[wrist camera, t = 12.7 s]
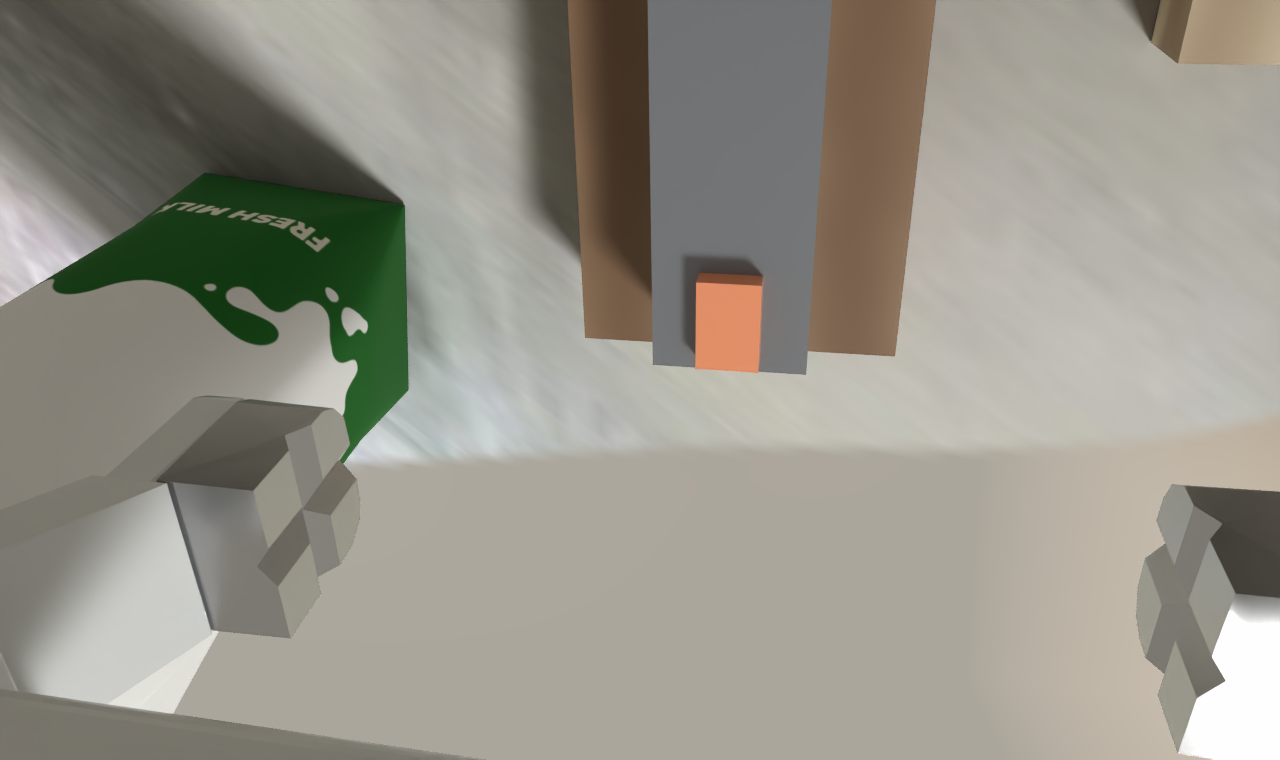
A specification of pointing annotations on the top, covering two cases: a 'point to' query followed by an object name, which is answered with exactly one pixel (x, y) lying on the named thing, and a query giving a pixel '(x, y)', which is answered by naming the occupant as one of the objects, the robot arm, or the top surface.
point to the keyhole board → (849, 173)
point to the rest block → (1219, 31)
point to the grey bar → (735, 179)
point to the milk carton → (202, 337)
